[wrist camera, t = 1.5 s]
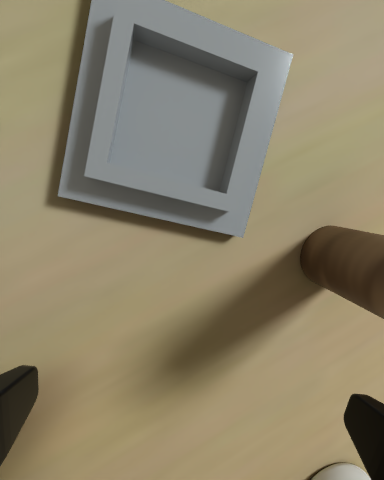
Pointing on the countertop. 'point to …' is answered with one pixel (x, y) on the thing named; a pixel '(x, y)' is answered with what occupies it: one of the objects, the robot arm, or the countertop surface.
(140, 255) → the countertop surface
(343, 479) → the milk bottle
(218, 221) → the seat dish
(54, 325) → the countertop surface
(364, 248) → the pepper mill
